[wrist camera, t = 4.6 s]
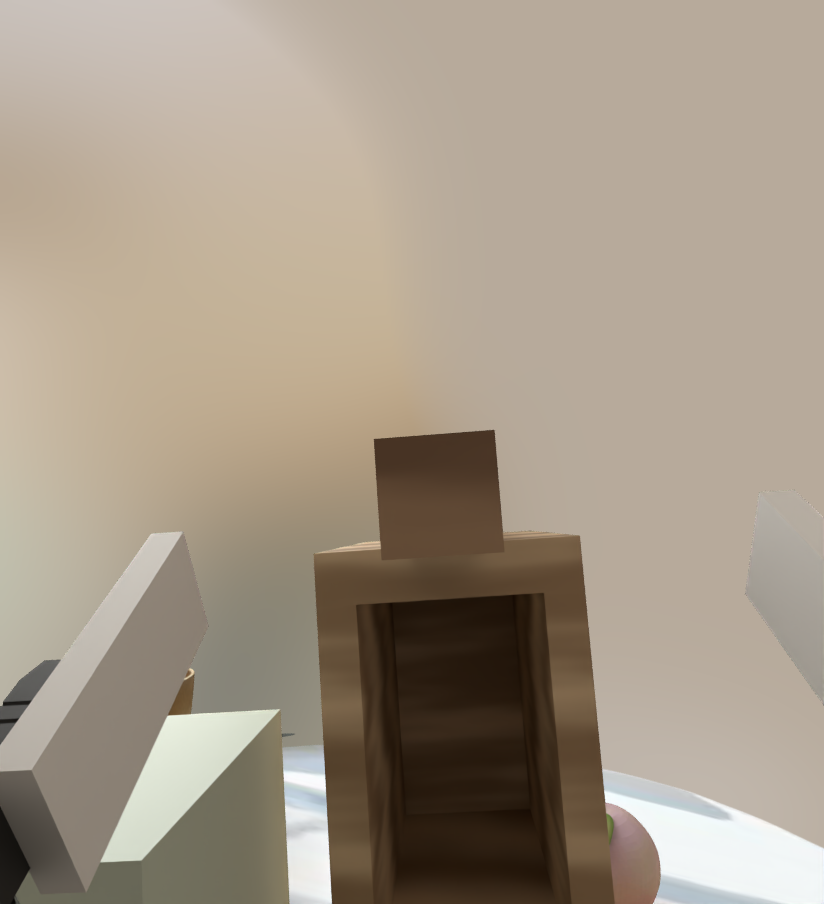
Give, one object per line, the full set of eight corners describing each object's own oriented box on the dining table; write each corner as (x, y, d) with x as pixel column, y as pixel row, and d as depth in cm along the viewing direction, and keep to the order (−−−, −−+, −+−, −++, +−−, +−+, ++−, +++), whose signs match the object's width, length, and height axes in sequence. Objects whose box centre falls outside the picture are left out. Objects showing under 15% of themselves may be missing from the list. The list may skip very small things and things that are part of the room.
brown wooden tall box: (668, 1467, 22) (579, 535, 25) (361, 1467, 22) (313, 553, 26) (577, 1070, 38) (530, 530, 41) (399, 1075, 38) (366, 541, 42)
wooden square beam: (504, 552, 16) (494, 429, 17) (381, 560, 17) (373, 438, 17) (473, 535, 40) (469, 484, 41) (422, 538, 40) (419, 488, 41)
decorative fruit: (692, 965, 46) (676, 810, 47) (575, 983, 45) (561, 824, 46) (633, 892, 55) (621, 764, 56) (535, 905, 54) (524, 775, 55)
